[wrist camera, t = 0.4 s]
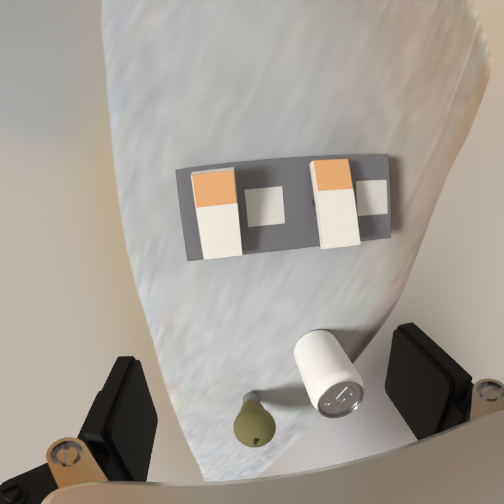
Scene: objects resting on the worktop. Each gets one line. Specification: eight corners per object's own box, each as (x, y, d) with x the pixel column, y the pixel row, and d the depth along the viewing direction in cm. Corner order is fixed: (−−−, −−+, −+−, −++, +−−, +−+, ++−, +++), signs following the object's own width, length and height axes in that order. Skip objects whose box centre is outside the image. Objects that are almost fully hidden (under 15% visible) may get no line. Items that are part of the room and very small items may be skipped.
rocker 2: (309, 163, 33) (312, 160, 31) (344, 162, 33) (348, 158, 32) (320, 249, 33) (324, 248, 31) (356, 244, 33) (360, 244, 32)
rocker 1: (191, 172, 30) (190, 175, 29) (233, 167, 30) (234, 170, 29) (204, 253, 34) (203, 260, 33) (241, 249, 34) (242, 255, 33)
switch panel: (180, 169, 36) (173, 169, 31) (373, 155, 38) (394, 154, 32) (190, 252, 39) (186, 265, 34) (376, 231, 40) (396, 240, 35)
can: (283, 352, 44) (301, 408, 32) (315, 320, 43) (344, 369, 31) (314, 373, 45) (338, 427, 34) (345, 343, 44) (378, 392, 33)
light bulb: (227, 386, 44) (229, 433, 35) (264, 377, 44) (274, 424, 35) (237, 411, 46) (240, 458, 36) (271, 403, 46) (282, 450, 36)
